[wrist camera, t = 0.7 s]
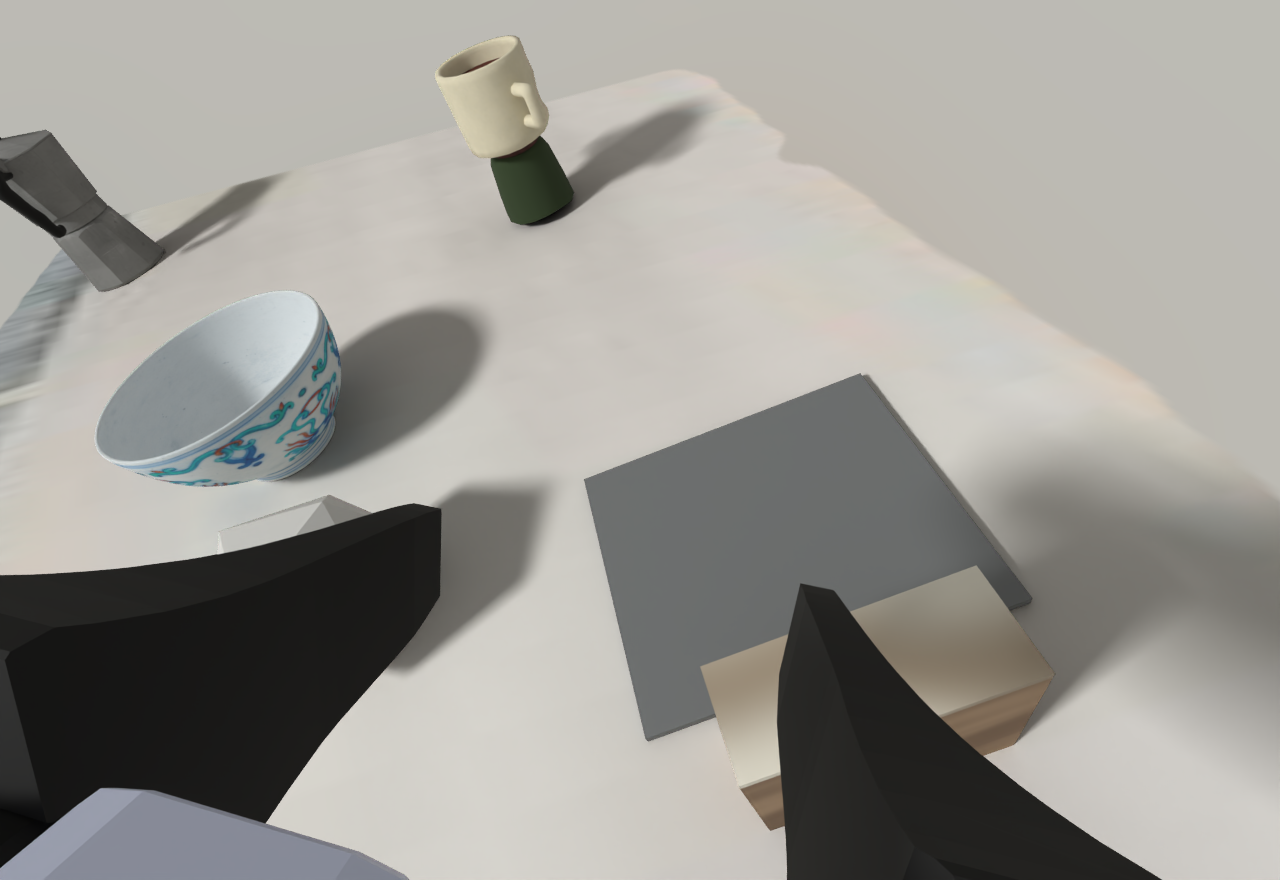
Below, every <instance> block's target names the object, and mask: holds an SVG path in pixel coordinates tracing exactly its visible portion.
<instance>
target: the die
mask: <svg viewBox="0 0 1280 880" xmlns="http://www.w3.org/2000/svg"><path fill="white" fill-rule="evenodd" d="M369 514H372V513H371V512H368V511H366V510H364V509H361V508H359V507H357V506H354V505H352V504H349V503H347V502H345V501H342V500H340V499H338V498H335V497H333V496H331V495H327V496H324V497H321V498H318V499H315V500H312V501H309V502H306V503H303V504H300V505H297V506H294V507H291V508H288V509H285V510H282V511H279V512H276V513H273V514H270V515H267V516H264V517H261V518H258V519H255V520H252V521H249V522H246V523H243V524H240V525H237V526H234V527H231V528H228V529H225V530H222V531H219V536H218V549H217V554H222V553H227V552H232V551H237V550H241V549H246V548H251V547H255V546H259V545H263V544H267V543H271V542H274V541H278V540H282V539H286V538H289V537H293V536H297V535H300V534H304V533H308V532H312V531H315V530H319V529H322V528H326V527H329V526H332V525H335V524H339V523H342V522H345V521H349V520H352V519H355V518H359V517H362V516H365V515H369Z"/></svg>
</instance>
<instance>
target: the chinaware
mask: <svg viewBox="0 0 1280 880" xmlns="http://www.w3.org/2000/svg"><path fill="white" fill-rule="evenodd" d="M340 387H341V363H340V356H339V352H338V348H337V344H336V341H335V338H334V335H333V333H332V330H331V328H330V326H329V323H328V321H327V319H326V317H325V315H324V313H323V312H322V310H321V308H320V306H319V305H318V303H317V302H316V301H315V300H314V299H313V298H312V297H311V296H309V295H307V294H305V293H303V292H299V291H293V290H279V291H271V292H266V293H261V294H257V295H254V296H251V297H248V298H245V299H242V300H239V301H237V302H234V303H232V304H229V305H227V306H225V307H223V308H221V309H218V310H216V311H214V312H213V313H211V314H209V315H207V316H205V317H203V318H201V319H200V320H198V321H196V322H195V323H193V324H191V325H190V326H188V327H187V328H185V329H184V330H182V331H181V332H179V333H178V334H176V335H175V336H173V337H172V338H171V339H169V340H168V341H167V342H165V343H164V344H163V345H161V346H160V347H159V348H158V349H156V350H155V351H154V352H153V353H152V354H150V355H149V356H148V357H147V358H146V359H145V360H144V361H143V362H142V363H140V364H139V365H138V366H137V367H136V368H135V369H134V370H133V371H132V372H131V373H130V375H129V376H128V377H127V378H126V379H125V380H124V381H123V382H122V383H121V385H120V386H119V387H118V388H117V390H116V391H115V392H114V394H113V395H112V396H111V398H110V399H109V401H108V402H107V404H106V406H105V407H104V409H103V411H102V413H101V415H100V417H99V420H98V423H97V426H96V430H95V445H96V448H97V450H98V452H99V453H100V454H101V456H102V457H104V458H105V459H106V460H108V461H110V462H112V463H114V464H116V465H118V466H120V467H122V468H125V469H127V470H130V471H132V472H135V473H137V474H140V475H143V476H146V477H149V478H153V479H156V480H160V481H164V482H169V483H174V484H180V485H187V486H204V487H209V486H225V485H233V484H239V483H243V482H248V481H251V480H255V479H256V480H259V481H264V482H269V481H276V480H280V479H283V478H286V477H288V476H290V475H293V474H294V473H296V472H298V471H300V470H301V469H303V468H304V467H306V466H307V465H308V464H310V463H311V462H312V461H313V460H314V459H315V458H316V457H317V456H318V455H319V454H320V453H321V452H322V451H323V450H324V449H325V447H326V446H327V444H328V443H329V441H330V439H331V437H332V435H333V433H334V429H335V418H334V415H333V413H334V411H335V408H336V405H337V402H338V398H339V393H340Z"/></svg>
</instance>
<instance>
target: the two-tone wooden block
mask: <svg viewBox="0 0 1280 880" xmlns="http://www.w3.org/2000/svg"><path fill="white" fill-rule="evenodd" d="M850 613H851V614H852V615H853V617H854V618H855V619H856V621H857V622H858V624H859V625H860V626H861V628H862V629H863V630H864V632H865V633H866V634H867V636H868V637H869V638H870V639H871V641H872V642H873V643H874V645H875V646H876V647H877V648H878V650H879V651H880V652H881V653H882V655H883V656H884V657H885V658H886V659H887V661H888V662H889V663H890V664H891V665H892V667H893V668H894V669H895V670H896V671H897V672H898V674H899V675H900V676H901V677H902V678H903V679H904V680H905V681H906V682H907V684H908V685H909V686H910V687H911V688H912V689H913V690H914V691H915V692H916V693H917V695H918V696H919V697H920V698H921V699H922V700H923V701H924V702H925V703H926V704H927V705H928V706H929V707H930V708H931V709H932V710H933V711H934V712H935V713H936V714H937V715H938V716H939V717H940V718H941V719H942V720H944V721H945V722H946V723H947V724H948V725H949V726H950V727H951V728H952V729H953V730H954V731H955V732H956V733H957V734H958V735H959V736H961V737H962V738H963V739H964V740H965V741H966V742H967V743H968V744H970V745H971V746H972V747H973V748H974V749H975V750H976V751H978V752H979V753H980V754H981V755H982V756H984V755H987V754H989V753H992V752H995V751H998V750H1001V749H1004V748H1006V747H1009V746H1012V745H1014V744H1015V742H1016V741H1017V739H1018V737H1019V735H1020V734H1021V732H1022V730H1023V729H1024V727H1025V725H1026V723H1027V722H1028V720H1029V718H1030V716H1031V715H1032V713H1033V711H1034V709H1035V708H1036V706H1037V704H1038V703H1039V701H1040V699H1041V697H1042V696H1043V694H1044V692H1045V690H1046V689H1047V687H1048V685H1049V684H1050V682H1051V680H1052V678H1053V677H1054V675H1055V673H1054V671H1053V670H1052V669H1051V667H1050V666H1049V665H1048V663H1047V662H1046V660H1045V659H1044V658H1043V656H1042V655H1041V653H1040V652H1039V651H1038V649H1037V648H1036V647H1035V645H1034V644H1033V642H1032V641H1031V640H1030V638H1029V637H1028V636H1027V634H1026V633H1025V631H1024V630H1023V629H1022V627H1021V626H1020V625H1019V623H1018V622H1017V620H1016V619H1015V618H1014V616H1013V615H1012V613H1011V612H1010V611H1009V609H1008V608H1007V607H1006V605H1005V604H1004V602H1003V601H1002V600H1001V598H1000V597H999V596H998V594H997V593H996V591H995V590H994V589H993V587H992V586H991V585H990V583H989V582H988V580H987V579H986V578H985V576H984V575H983V573H982V572H981V571H980V569H979V568H978V567H977V565H976V566H973V567H970V568H968V569H965V570H962V571H959V572H957V573H954V574H951V575H949V576H946V577H943V578H940V579H938V580H935V581H932V582H929V583H927V584H924V585H921V586H919V587H916V588H913V589H910V590H908V591H905V592H902V593H899V594H897V595H894V596H891V597H889V598H886V599H883V600H880V601H878V602H875V603H872V604H869V605H867V606H864V607H861V608H859V609H856V610H853V611H850ZM787 638H788V635H785V636H782V637H779V638H777V639H774V640H771V641H769V642H766V643H763V644H760V645H758V646H755V647H752V648H749V649H747V650H744V651H741V652H739V653H736V654H733V655H730V656H728V657H725V658H722V659H719V660H717V661H714V662H711V663H709V664H706V665H703V666H700V668H701V671H702V674H703V677H704V680H705V683H706V686H707V690H708V693H709V696H710V699H711V702H712V705H713V708H714V711H715V715H716V718H717V721H718V724H719V727H720V730H721V733H722V736H723V740H724V743H725V746H726V749H727V752H728V755H729V758H730V761H731V765H732V768H733V771H734V774H735V777H736V780H737V783H738V786H739V788H740V789H741V791H742V792H743V794H744V795H745V796H746V798H747V799H748V801H749V802H750V803H751V805H752V806H753V808H754V809H755V810H756V812H757V813H758V815H759V816H760V817H761V819H762V820H763V822H764V823H765V824H766V826H767V827H768V829H769V830H770V831H771V830H774V829H777V828H780V827H783V826H785V821H784V808H783V796H782V784H781V771H780V759H779V746H778V732H777V705H778V685H779V672H780V667H781V663H782V659H783V655H784V651H785V646H786V642H787Z"/></svg>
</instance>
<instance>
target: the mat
mask: <svg viewBox="0 0 1280 880" xmlns="http://www.w3.org/2000/svg"><path fill="white" fill-rule="evenodd" d="M584 481H585V485H586V490H587V494H588V498H589V502H590V507H591V511H592V515H593V519H594V523H595V528H596V532H597V536H598V540H599V545H600V549H601V553H602V557H603V561H604V566H605V570H606V574H607V578H608V583H609V587H610V591H611V595H612V599H613V604H614V608H615V612H616V616H617V620H618V625H619V629H620V633H621V637H622V642H623V646H624V650H625V654H626V658H627V663H628V667H629V671H630V675H631V680H632V684H633V688H634V692H635V696H636V701H637V705H638V709H639V713H640V718H641V722H642V726H643V730H644V734H645V739H646V740H647V741H651V740H654V739H656V738H659V737H662V736H665V735H667V734H670V733H673V732H676V731H678V730H681V729H684V728H687V727H690V726H692V725H695V724H698V723H701V722H703V721H706V720H709V719H712V718H714V717H716V715H715V711H714V708H713V705H712V702H711V699H710V696H709V693H708V690H707V686H706V683H705V680H704V677H703V674H702V671H701V668H700V666H703V665H706V664H709V663H711V662H714V661H717V660H719V659H722V658H725V657H728V656H730V655H733V654H736V653H739V652H741V651H744V650H747V649H749V648H752V647H755V646H758V645H760V644H763V643H766V642H769V641H771V640H774V639H777V638H779V637H782V636H785V635H788V634H789V629H790V625H791V621H792V617H793V612H794V608H795V604H796V600H797V595H798V591H799V587H800V583H802V584H807V585H811V586H816V587H821V588H826V589H831V590H834V591H835V592H836V594H837V595H838V596H839V597H840V599H841V600H842V602H843V603H844V604H845V606H846V607H847V609H848V610H849V611H853V610H856V609H859V608H861V607H864V606H867V605H869V604H872V603H875V602H878V601H880V600H883V599H886V598H889V597H891V596H894V595H897V594H899V593H902V592H905V591H908V590H910V589H913V588H916V587H919V586H921V585H924V584H927V583H929V582H932V581H935V580H938V579H940V578H943V577H946V576H949V575H951V574H954V573H957V572H959V571H962V570H965V569H968V568H970V567H973V566H976V565H977V567H978V568H979V569H980V571H981V572H982V573H983V575H984V576H985V578H986V579H987V580H988V582H989V583H990V585H991V586H992V587H993V589H994V590H995V591H996V593H997V594H998V596H999V597H1000V598H1001V600H1002V601H1003V602H1004V604H1005V605H1006V607H1007V608H1008V609H1009V610H1012V609H1015V608H1017V607H1020V606H1023V605H1026V604H1029V603H1031V600H1032V597H1031V596H1030V595H1029V593H1028V592H1027V591H1026V589H1025V588H1024V587H1023V585H1022V584H1021V583H1020V581H1019V580H1018V579H1017V578H1016V576H1015V575H1014V574H1013V572H1012V571H1011V570H1010V568H1009V567H1008V566H1007V564H1006V563H1005V562H1004V561H1003V559H1002V558H1001V557H1000V555H999V554H998V553H997V551H996V550H995V549H994V547H993V546H992V545H991V544H990V542H989V541H988V540H987V538H986V537H985V536H984V534H983V533H982V532H981V530H980V529H979V528H978V527H977V525H976V524H975V523H974V521H973V520H972V519H971V517H970V516H969V515H968V513H967V512H966V511H965V510H964V508H963V507H962V506H961V504H960V503H959V502H958V500H957V499H956V498H955V496H954V495H953V494H952V493H951V491H950V490H949V489H948V487H947V486H946V485H945V483H944V482H943V481H942V479H941V478H940V477H939V476H938V474H937V473H936V472H935V470H934V469H933V468H932V466H931V465H930V464H929V462H928V461H927V460H926V458H925V457H924V456H923V455H922V453H921V452H920V451H919V449H918V448H917V447H916V445H915V444H914V443H913V441H912V440H911V439H910V438H909V436H908V435H907V434H906V432H905V431H904V430H903V428H902V427H901V426H900V424H899V423H898V422H897V421H896V419H895V418H894V417H893V415H892V414H891V413H890V411H889V410H888V409H887V407H886V406H885V405H884V404H883V402H882V401H881V400H880V398H879V397H878V396H877V394H876V393H875V392H874V390H873V389H872V388H871V387H870V385H869V384H868V383H867V381H866V380H865V379H864V377H863V376H862V375H861V373H860V374H857V375H855V376H852V377H849V378H847V379H844V380H842V381H839V382H836V383H834V384H831V385H829V386H826V387H823V388H821V389H818V390H816V391H813V392H810V393H808V394H805V395H803V396H800V397H797V398H795V399H792V400H790V401H787V402H784V403H782V404H779V405H777V406H774V407H771V408H769V409H766V410H764V411H761V412H758V413H756V414H753V415H751V416H748V417H745V418H743V419H740V420H737V421H735V422H732V423H730V424H727V425H724V426H722V427H719V428H717V429H714V430H711V431H709V432H706V433H704V434H701V435H698V436H696V437H693V438H691V439H688V440H685V441H683V442H680V443H678V444H675V445H672V446H670V447H667V448H665V449H662V450H659V451H657V452H654V453H652V454H649V455H646V456H644V457H641V458H639V459H636V460H633V461H631V462H628V463H626V464H623V465H620V466H618V467H615V468H613V469H610V470H607V471H605V472H602V473H600V474H597V475H594V476H592V477H589V478H587V479H584Z"/></svg>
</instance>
